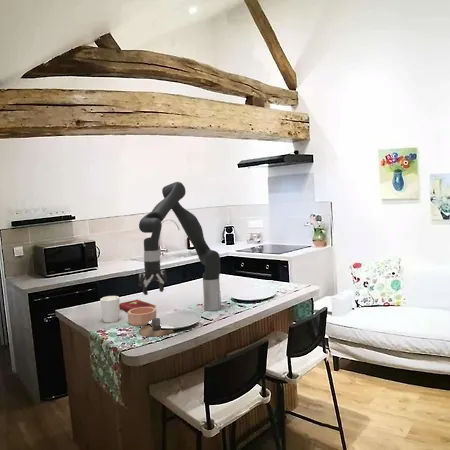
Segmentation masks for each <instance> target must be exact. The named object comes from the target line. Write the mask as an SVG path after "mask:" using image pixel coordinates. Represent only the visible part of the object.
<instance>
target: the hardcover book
mask: <svg viewBox="0 0 450 450" xmlns="http://www.w3.org/2000/svg"><path fill="white" fill-rule="evenodd" d="M139 307H153V308H155V309H156V307H157V305H155V304H152V303H150V302H147V301H143V300H141V299H133V300H129V301H124V302H119V311H123V312H125V313H128V311H129V310H131V309H134V308H139Z"/></svg>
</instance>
